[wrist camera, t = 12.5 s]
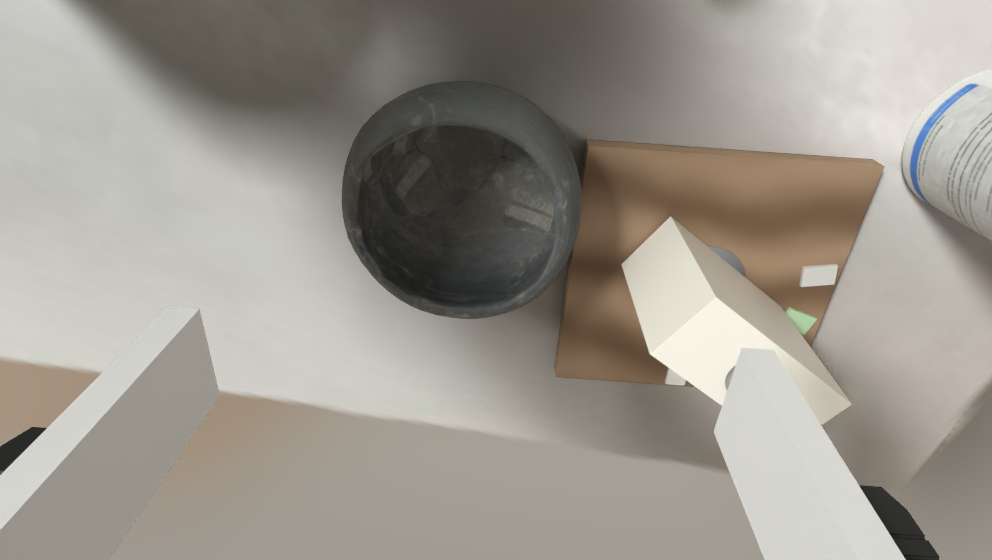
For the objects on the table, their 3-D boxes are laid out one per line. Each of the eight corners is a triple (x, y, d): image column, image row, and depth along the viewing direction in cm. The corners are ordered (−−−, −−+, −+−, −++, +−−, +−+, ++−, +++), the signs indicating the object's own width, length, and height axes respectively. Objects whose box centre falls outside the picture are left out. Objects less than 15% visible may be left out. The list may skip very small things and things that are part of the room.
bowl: (382, 264, 46) (350, 337, 37) (353, 67, 38) (304, 101, 30) (570, 262, 45) (581, 336, 36) (577, 61, 38) (593, 93, 29)
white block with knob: (621, 264, 43) (652, 362, 33) (670, 216, 41) (720, 304, 31) (761, 371, 47) (827, 487, 37) (812, 332, 45) (897, 443, 35)
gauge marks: (698, 254, 43) (699, 256, 42) (840, 264, 43) (842, 266, 42) (664, 381, 49) (665, 384, 48) (788, 390, 49) (790, 393, 48)
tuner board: (586, 139, 40) (588, 146, 39) (872, 159, 40) (885, 167, 39) (554, 365, 50) (555, 377, 49) (784, 382, 50) (791, 394, 49)
